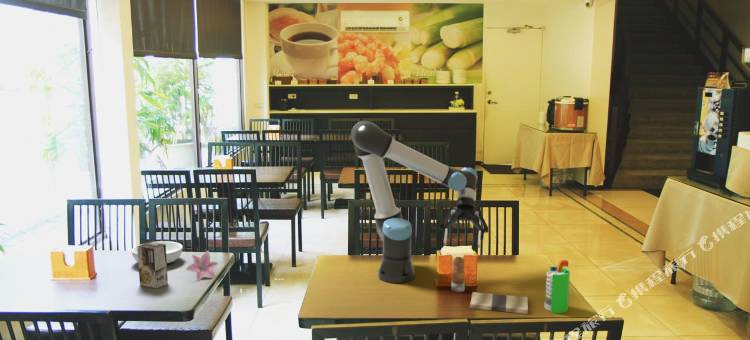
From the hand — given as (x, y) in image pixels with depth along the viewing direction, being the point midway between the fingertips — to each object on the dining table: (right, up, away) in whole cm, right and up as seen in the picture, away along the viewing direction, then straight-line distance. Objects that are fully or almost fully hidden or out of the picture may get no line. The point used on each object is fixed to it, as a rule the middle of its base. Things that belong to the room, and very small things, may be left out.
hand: (461, 245), depth 232 cm
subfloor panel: (+10, -19, -22) cm, 31 cm away
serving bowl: (-130, -11, +21) cm, 133 cm away
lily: (-105, -14, +4) cm, 106 cm away
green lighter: (+30, -20, -25) cm, 44 cm away
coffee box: (-122, -15, -5) cm, 123 cm away
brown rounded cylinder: (-3, -16, -8) cm, 18 cm away
